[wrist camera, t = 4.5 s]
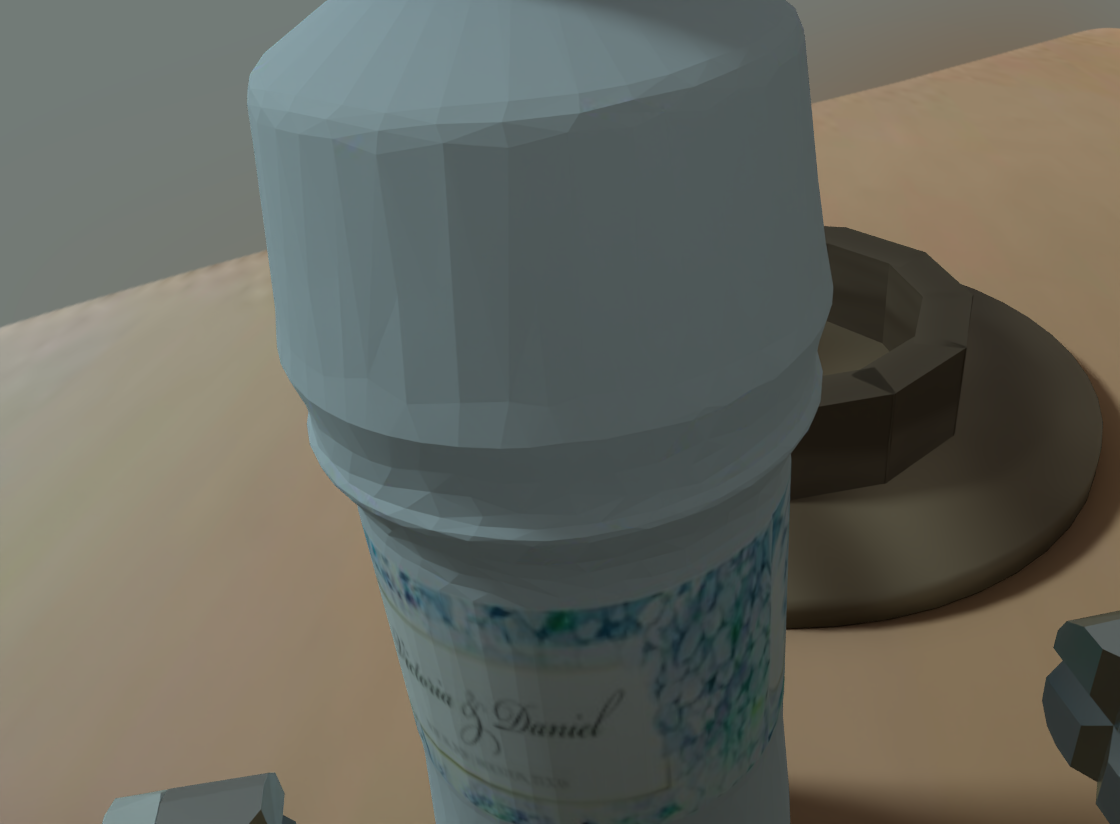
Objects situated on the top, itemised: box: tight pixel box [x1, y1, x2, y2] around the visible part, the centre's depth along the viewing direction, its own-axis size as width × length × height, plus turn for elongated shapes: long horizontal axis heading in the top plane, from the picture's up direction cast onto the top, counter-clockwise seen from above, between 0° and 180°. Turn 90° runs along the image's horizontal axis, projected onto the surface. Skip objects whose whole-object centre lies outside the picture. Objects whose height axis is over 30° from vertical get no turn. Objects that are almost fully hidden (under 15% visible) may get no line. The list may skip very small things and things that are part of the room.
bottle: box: [247, 0, 833, 824], centre depth 14 cm, size 7×7×20 cm
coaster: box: [786, 226, 1103, 628], centre depth 33 cm, size 20×20×4 cm
